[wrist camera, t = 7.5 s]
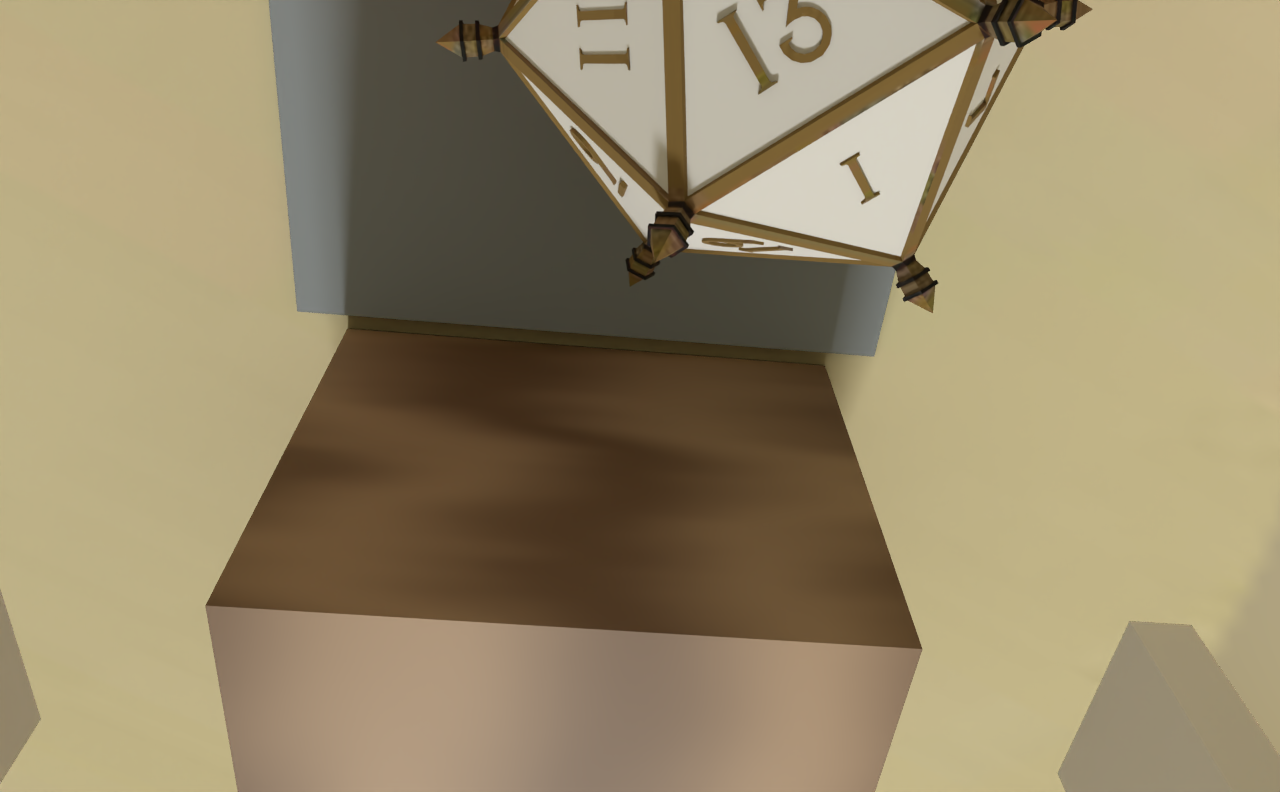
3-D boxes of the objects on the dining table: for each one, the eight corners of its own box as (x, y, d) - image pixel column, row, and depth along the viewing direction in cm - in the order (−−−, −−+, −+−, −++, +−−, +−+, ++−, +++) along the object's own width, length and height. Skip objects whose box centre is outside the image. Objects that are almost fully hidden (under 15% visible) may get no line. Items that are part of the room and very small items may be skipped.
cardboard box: (364, 592, 27) (259, 916, 19) (347, 328, 23) (205, 605, 15) (769, 618, 28) (825, 940, 20) (824, 365, 23) (922, 649, 16)
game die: (592, 527, 14) (215, -96, 14) (785, 348, 21) (545, -69, 21) (1266, 231, 9) (734, -778, 9) (1230, 125, 16) (936, -437, 16)
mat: (300, 305, 22) (297, 311, 22) (248, -287, 17) (242, -288, 16) (871, 350, 23) (874, 356, 23) (1005, -200, 18) (1011, -201, 17)
